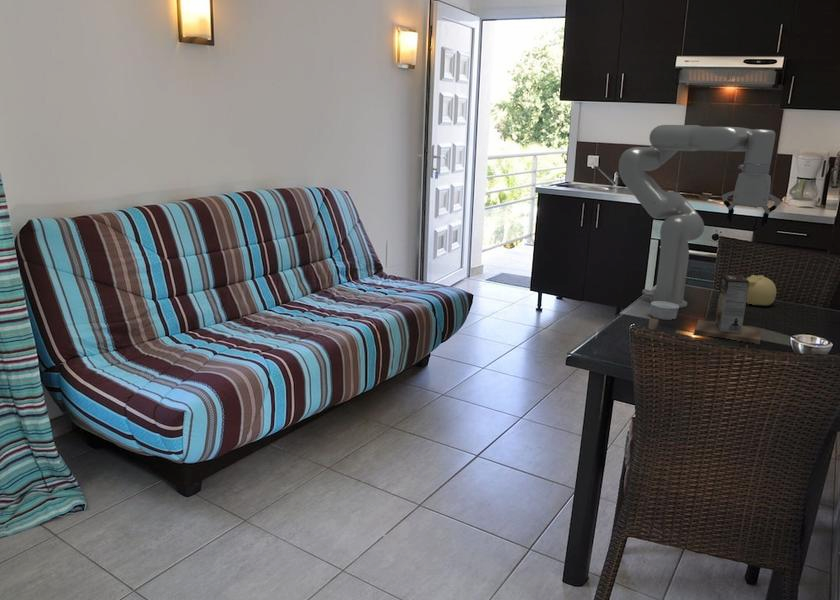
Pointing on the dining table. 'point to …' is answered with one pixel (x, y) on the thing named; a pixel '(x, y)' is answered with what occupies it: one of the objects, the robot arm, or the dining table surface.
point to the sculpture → (760, 290)
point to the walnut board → (711, 330)
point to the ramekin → (664, 310)
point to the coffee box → (731, 303)
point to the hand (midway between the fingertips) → (746, 223)
